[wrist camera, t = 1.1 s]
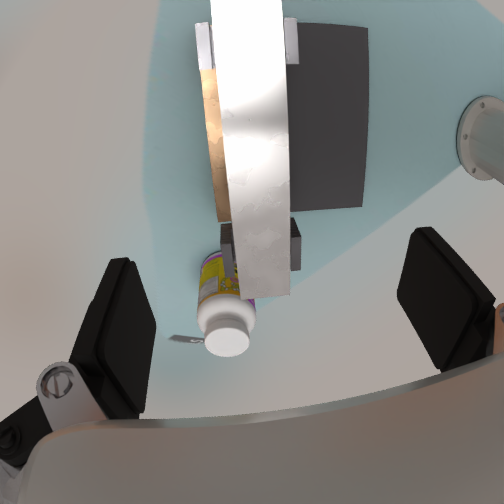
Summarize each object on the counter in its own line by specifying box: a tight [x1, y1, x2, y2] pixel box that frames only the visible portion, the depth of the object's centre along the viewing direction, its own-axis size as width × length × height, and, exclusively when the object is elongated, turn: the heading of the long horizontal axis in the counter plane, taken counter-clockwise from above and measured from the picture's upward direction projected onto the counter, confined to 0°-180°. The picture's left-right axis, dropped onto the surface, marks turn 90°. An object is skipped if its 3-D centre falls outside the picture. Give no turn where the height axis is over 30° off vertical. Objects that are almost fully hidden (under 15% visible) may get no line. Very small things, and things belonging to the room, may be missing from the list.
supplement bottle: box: [197, 252, 256, 357], centre depth 37 cm, size 7×7×13 cm
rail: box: [211, 0, 290, 300], centre depth 21 cm, size 4×22×4 cm, turn 4°
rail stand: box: [195, 18, 301, 278], centre depth 26 cm, size 8×22×14 cm, turn 4°
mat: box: [285, 23, 369, 212], centre depth 32 cm, size 10×22×1 cm, turn 4°
